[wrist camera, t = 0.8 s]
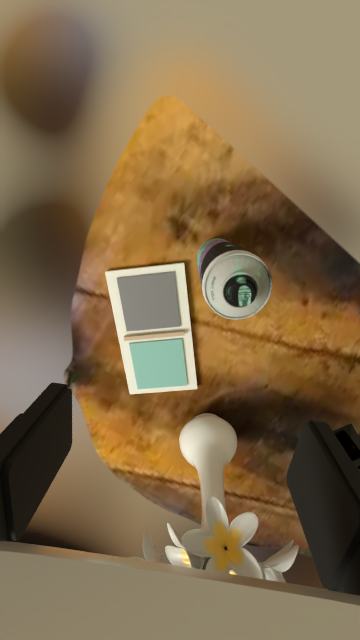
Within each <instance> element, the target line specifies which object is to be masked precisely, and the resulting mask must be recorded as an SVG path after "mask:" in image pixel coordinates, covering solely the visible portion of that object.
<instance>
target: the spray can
mask: <svg viewBox="0 0 360 640" xmlns="http://www.w3.org/2000/svg"><path fill="white" fill-rule="evenodd" d="M197 265H198V270H199V275H200V280H201V285H202V291H203V295H204V298H205V300H206V302H207V303H208V305H209V306H210V307H211V309H212V310H213V311H214V312H216V313H217V314H219V315H220V316H222V317H225V318H228V319H244V318H247V317H250V316H252V315H254V314H256V313H257V312H258V311H260V310H261V309H262V308H263V307H264V305H265V304H266V303H267V301H268V299H269V297H270V294H271V291H272V278H271V274H270V271H269V270H268V268H267V266H266V265H265V263H264V262H263V261H262V260H261V259H260V258H259V257H258V256H256V255H255V254H253V253H251V252H249V251H247V250H245V249H243V248H241V247H239V246H237V245H235V244H233V243H231V242H229V241H227V240H225V239H220V238H215V239H211V240H209V241H207V242H205V243H204V244H203V245H202V246H201V248H200V249H199V252H198V255H197Z"/></svg>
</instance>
